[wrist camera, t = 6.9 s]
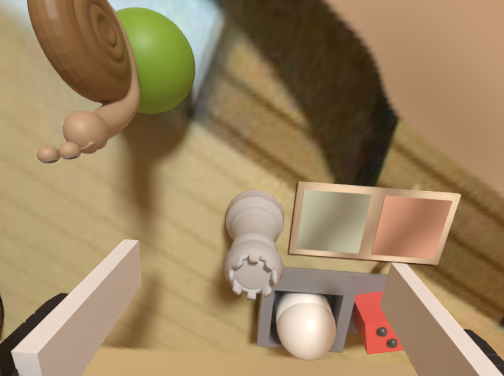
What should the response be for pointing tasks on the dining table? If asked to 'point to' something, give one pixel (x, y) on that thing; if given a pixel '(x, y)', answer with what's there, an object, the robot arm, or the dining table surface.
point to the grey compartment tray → (335, 307)
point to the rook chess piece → (254, 243)
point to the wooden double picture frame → (371, 222)
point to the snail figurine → (111, 66)
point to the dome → (305, 324)
